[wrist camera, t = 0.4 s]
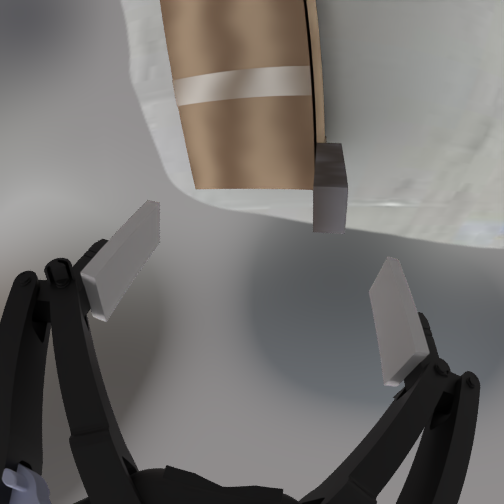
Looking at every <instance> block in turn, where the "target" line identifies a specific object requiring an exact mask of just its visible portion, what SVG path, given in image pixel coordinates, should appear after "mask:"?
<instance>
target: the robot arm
mask: <svg viewBox="0 0 504 504" xmlns="http://www.w3.org/2000/svg"><path fill="white" fill-rule="evenodd" d="M159 222H160V203H159V202H155V201H150V200H147V201H146V202H145V203H144V204H143V205H142V207H140V208H139V209H138V210H137V211H136V212H135V213H134V214H133V215H132V216H131V217H130V218H129V219H128V221H127V222H126V223H125V224H124V225H123V226H122V227H121V228H120V229H119V230H118V231H117V232H116V233H115V234H114V236H112V237H111V239H110V240H105V239H102V240H100V241H98V242H96V243H94V244H93V245H92V246H91V247H90V248H89V250H88V251H87V252H86V253H85V254H84V256H82V257H81V258H80V259H79V260H78V262H77V263H76V264H75V265H74V266H73V267H72V264H71V262H70V261H69V260H68V259H65V258H57V259H54V260H52V261H50V262H49V263H48V264H47V265H46V266H45V269H44V272H45V275H46V278H47V280H38V278H37V275H36V273H34V272H33V271H25V272H23V273H20V274H19V275H18V276H17V277H16V279H15V280H14V282H13V285H12V288H11V291H10V294H9V297H8V300H7V302H6V306H5V309H4V312H3V315H2V318H1V322H0V504H51V502H50V499H49V495H50V491H49V488H48V485H47V483H46V482H45V480H44V479H43V478H42V477H41V475H42V464H43V452H42V451H43V450H42V404H43V386H44V375H45V365H46V355H47V348H48V342H49V335H50V329H51V327H52V337H53V346H54V353H55V360H56V366H57V373H58V378H59V384H60V389H61V394H62V399H63V403H64V407H65V412H66V416H67V419H68V423H69V427H70V431H71V436H70V438H69V442H70V447H71V451H72V454H73V457H74V460H75V463H76V466H77V469H78V471H79V474H80V477H81V479H82V482H83V484H84V487H85V489H86V492H87V494H88V497H87V498H85V499H83V500H80V501H78V502H76V503H74V504H377V501H376V497H377V496H378V494H379V493H380V492H381V490H382V489H383V488H384V486H385V485H386V484H387V483H388V481H389V480H390V479H391V477H392V476H393V474H394V473H395V471H396V470H397V469H398V468H399V466H400V465H401V463H402V462H403V460H404V459H405V457H406V456H407V454H408V453H409V451H410V450H411V448H412V447H413V445H414V444H415V442H416V440H417V439H418V437H419V435H420V434H421V432H422V430H423V429H424V431H423V435H422V438H421V441H420V444H419V447H418V450H417V453H416V456H415V459H414V461H413V464H412V466H411V469H410V472H409V475H408V477H407V479H406V482H405V484H404V487H403V489H402V491H401V493H400V496H399V498H398V500H397V502H396V504H457V503H458V500H459V497H460V494H461V491H462V487H463V484H464V480H465V476H466V473H467V469H468V464H469V460H470V455H471V450H472V446H473V440H474V435H475V428H476V422H477V414H478V405H479V395H480V382H479V380H478V378H477V377H476V375H475V374H474V373H472V372H470V371H467V372H465V373H464V374H463V375H462V376H458V375H456V374H454V373H452V372H451V371H450V368H449V366H448V364H447V363H446V362H445V361H444V360H442V359H441V358H439V356H438V353H437V349H436V346H435V342H434V339H433V337H432V333H431V330H430V326H429V323H428V320H427V319H426V318H425V316H424V315H423V313H420V312H417V309H416V306H415V303H414V300H413V297H412V295H411V292H410V289H409V286H408V283H407V281H406V278H405V275H404V272H403V270H402V267H401V265H400V262H399V260H398V259H395V258H391V257H387V258H386V260H385V262H384V264H383V266H382V268H381V270H380V272H379V274H378V276H377V277H376V279H375V281H374V283H373V285H372V287H371V288H370V291H369V295H370V300H371V305H372V310H373V315H374V321H375V326H376V333H377V339H378V345H379V351H380V358H381V365H382V372H383V380H384V385H388V386H398V385H399V384H400V383H401V382H402V381H403V380H404V383H405V387H404V388H403V389H402V390H401V391H399V392H398V393H397V394H396V395H395V396H394V397H393V398H395V399H394V401H393V402H392V404H391V405H390V406H389V408H388V409H387V410H386V412H385V413H384V414H383V416H382V417H381V418H380V420H379V421H378V422H377V424H376V425H375V426H374V427H373V428H372V430H371V431H370V432H369V433H368V434H367V436H366V437H365V438H364V439H363V440H362V441H361V443H360V444H359V445H358V446H357V447H356V448H355V450H354V451H353V452H352V453H351V454H350V455H349V456H348V457H347V458H346V459H345V460H344V462H343V463H342V464H341V465H340V466H339V467H338V468H337V469H336V470H335V471H334V472H333V473H332V474H331V475H330V476H329V477H328V478H327V479H326V480H325V481H324V482H323V483H322V484H321V485H320V486H318V487H317V488H316V489H315V490H313V491H311V492H310V493H308V494H307V495H306V496H305V497H303V498H302V499H301V500H300V501H299V502H298V501H297V500H295V499H294V498H292V497H290V496H288V495H286V494H283V489H278V488H269V487H261V486H241V487H222V486H220V485H218V484H215V483H213V482H211V481H209V480H207V479H205V478H203V477H201V476H199V475H197V474H195V473H192V472H188V471H184V470H181V469H177V468H174V467H171V466H168V465H167V466H166V468H165V469H162V468H158V469H157V468H156V469H147V470H142V471H139V470H138V468H137V466H136V464H135V462H134V460H133V458H132V456H131V454H130V452H129V450H128V449H127V446H126V444H125V442H124V439H123V437H122V434H121V432H120V429H119V427H118V424H117V421H116V418H115V416H114V413H113V410H112V407H111V404H110V401H109V398H108V395H107V392H106V389H105V385H104V382H103V379H102V375H101V372H100V368H99V365H98V361H97V357H96V353H95V349H94V345H93V340H92V336H91V331H90V327H89V322H88V317H87V313H88V311H89V310H90V309H91V312H92V314H93V317H95V318H97V319H100V320H103V321H105V322H107V320H108V319H109V317H110V315H111V314H112V312H113V311H114V309H115V307H116V306H117V304H118V303H119V301H120V300H121V298H122V297H123V295H124V294H125V292H126V291H127V289H128V288H129V286H130V285H131V283H132V281H133V280H134V279H135V277H136V276H137V274H138V273H139V271H140V270H141V268H142V267H143V266H144V264H145V263H146V261H147V260H148V258H149V257H150V256H151V254H152V253H153V251H154V250H155V249H156V247H157V246H158V244H159V243H160V223H159ZM424 427H425V428H424Z"/></svg>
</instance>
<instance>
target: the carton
mask: <svg viewBox="0 0 504 504" xmlns="http://www.w3.org/2000/svg"><path fill="white" fill-rule="evenodd" d="M160 4H161V11H162V18H163V24H164V31H165V37H166V43H167V49H168V55H169V60H170V66H171V72H172V77H173V80H172V82H173V87H174V93H175V98H176V103H177V106H178V109H179V114H180V119H181V124H182V129H183V133H184V138H185V143H186V148H187V152H188V157H189V161H190V166H191V171H192V175H193V179H194V184H195V188H196V189H305V190H313V184H314V172H315V160H316V147H317V132H316V106H315V88H314V73H313V59H312V47H311V37H310V27H309V17H308V9H307V1H306V0H160Z"/></svg>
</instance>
